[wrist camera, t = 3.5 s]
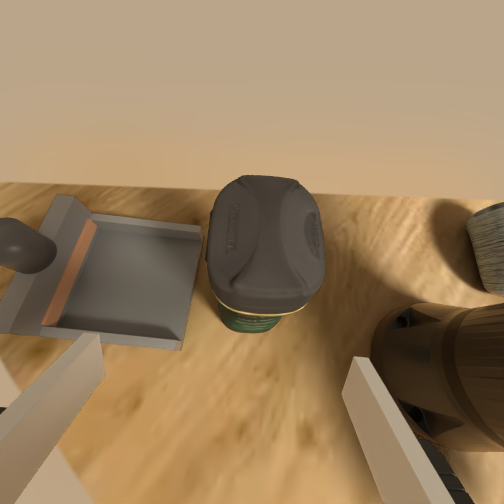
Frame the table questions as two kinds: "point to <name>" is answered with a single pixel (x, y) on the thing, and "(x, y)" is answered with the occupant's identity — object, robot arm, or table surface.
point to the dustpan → (99, 277)
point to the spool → (489, 246)
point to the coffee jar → (264, 251)
